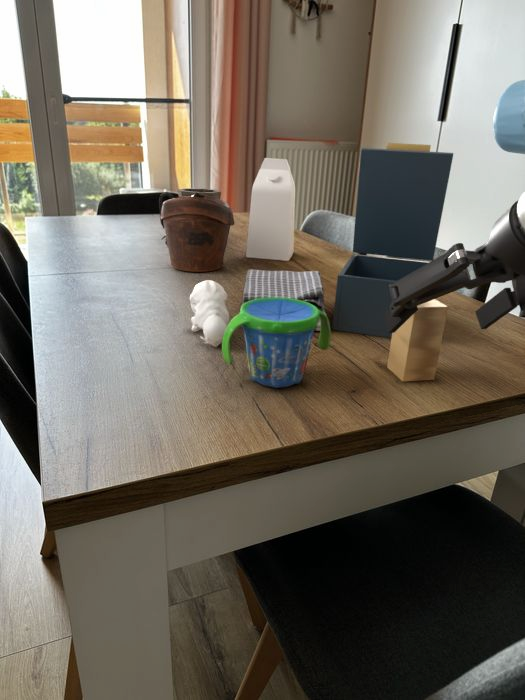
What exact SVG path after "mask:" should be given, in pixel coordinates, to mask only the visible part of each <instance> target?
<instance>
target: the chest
mask: <svg viewBox="0 0 525 700" xmlns="http://www.w3.org/2000/svg"><path fill="white" fill-rule="evenodd" d="M429 262H430V261H426V260H417V259H407V258H398V257H388V256H379V255H369V254H360V253H352V254H351V255H350V257H349V258H348V260H347V261H346V263H345V264H344V266H343V267H342V269H341V270H340V271H339V273H338V275H337V279H336V289H335V298H334V307H333V317H332V325H331V326H332V327H331V330H333V331H340V332H347V333H353V334H361V335H368V336H375V337H381V338H382V337H383V338H389V339H392V333H389V332H388V328H387V324H386V320H385V315H384V314H385V313H386V312H387V310H388V309H389V308H390V304H391V303H392V302H393V301H392V297H391V293H390V289H389V286H390V285H391V284H393V283H394V282H396V281H398V280H400V279H401V278H403V277H405V276H406V275H408V274H410V273H412V272H413V271H415V270H417V269H419V268H420V267H422V266H424V265H426V264H427V263H429Z"/></svg>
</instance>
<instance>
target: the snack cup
mask: <svg viewBox="0 0 525 700" xmlns="http://www.w3.org/2000/svg"><path fill="white" fill-rule="evenodd" d="M319 316H320V317H321V325H320V331H319V336H318V341H317V344H318V347H319V349H321V350H323V351H326V350H328V349H329V347H330V345H331V339H332V338H331V336H332V335H331V333H332V332H331V324H330V320H329V317H328V315H327V316H326V315H325V314H324V313H323V312H321V311H320V310H318V308H317V307H315V306H314V305H312V304H310V303H308V302H304V301H301V300H296V299H290V298H276V297H275V298H274V297H273V298H260V299H255V300H251V301H248V302H246V303H244V304H243V305H242V304H241V306H240V310H239V313H238V314H236V315H235V316H234V317H233V318H231V320H229V323H228V324H227V328H226V331H225V333H224V336H223V341H222V343H221V352H222V356H223V358H224V360H225V362H226V363H227V364H228V365H232V364H233V360H232V352H231V351H232V350H231V339H232V336H233V334H234V333H235V332H236V331H237V330H238V329H239V327H240V326H242V329H243V333H244V342H245V349H246V358H247V367H248V372H249V376H250V378H251V380H252V381H253V382H256V383H258V384H260V385H263V386H265V387H271V388H275V389H278V388H287V387H290V386H293V385H297V384H300V383H301V381H302V379H303V378H304V376H305V372H306V369H307V364H308V360H309V355H310V352H311V347H312V343H313V339H314V332H315V330H314V329H315V327H316V326H317V324H318V322H319Z"/></svg>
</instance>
